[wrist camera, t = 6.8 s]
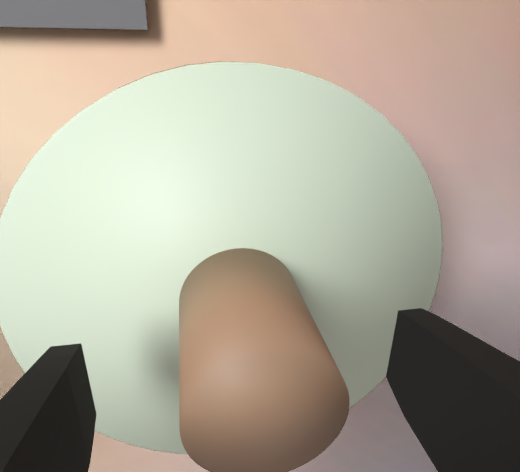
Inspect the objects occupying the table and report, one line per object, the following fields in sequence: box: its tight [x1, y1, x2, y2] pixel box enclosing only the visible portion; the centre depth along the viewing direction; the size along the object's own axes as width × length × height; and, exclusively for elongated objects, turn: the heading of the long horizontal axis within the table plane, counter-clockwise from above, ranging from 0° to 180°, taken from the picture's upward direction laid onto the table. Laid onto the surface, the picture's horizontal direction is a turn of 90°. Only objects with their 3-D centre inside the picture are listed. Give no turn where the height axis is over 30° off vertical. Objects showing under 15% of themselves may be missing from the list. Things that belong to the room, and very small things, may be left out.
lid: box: [0, 61, 442, 472], centre depth 10 cm, size 12×12×5 cm
